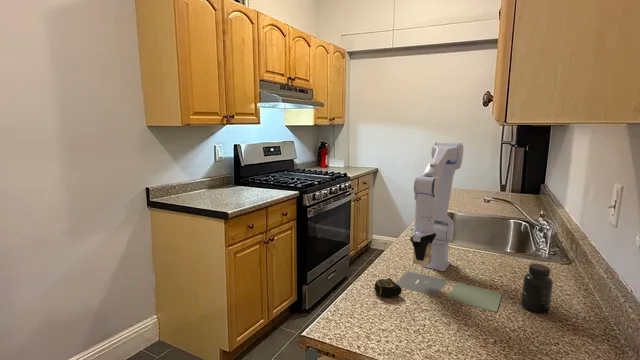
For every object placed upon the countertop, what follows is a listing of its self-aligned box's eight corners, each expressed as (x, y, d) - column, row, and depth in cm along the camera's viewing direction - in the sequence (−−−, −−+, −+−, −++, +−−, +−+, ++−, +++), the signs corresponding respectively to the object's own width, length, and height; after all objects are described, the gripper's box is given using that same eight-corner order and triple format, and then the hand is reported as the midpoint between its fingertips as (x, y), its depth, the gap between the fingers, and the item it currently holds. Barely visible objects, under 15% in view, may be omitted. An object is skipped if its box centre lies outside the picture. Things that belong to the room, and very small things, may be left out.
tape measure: (402, 298, 103) (403, 286, 102) (381, 301, 101) (381, 289, 100) (390, 288, 109) (391, 276, 109) (370, 290, 107) (370, 279, 107)
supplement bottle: (515, 304, 100) (519, 263, 98) (531, 300, 102) (536, 260, 100) (538, 316, 93) (543, 273, 91) (555, 311, 96) (560, 269, 94)
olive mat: (456, 282, 113) (456, 282, 113) (502, 293, 106) (502, 293, 106) (446, 299, 102) (446, 298, 102) (496, 312, 95) (496, 311, 95)
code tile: (407, 271, 122) (407, 271, 121) (447, 280, 115) (447, 280, 115) (393, 285, 111) (393, 285, 111) (436, 296, 104) (436, 296, 104)
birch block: (417, 258, 115) (418, 240, 114) (431, 261, 112) (432, 243, 111) (412, 263, 111) (413, 244, 110) (426, 266, 109) (428, 247, 108)
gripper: (419, 209, 117) (417, 248, 120) (403, 218, 105) (401, 262, 107) (441, 212, 114) (438, 252, 116) (427, 222, 102) (425, 267, 104)
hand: (422, 257), depth 111 cm, fingers closed on birch block, 4 cm apart
